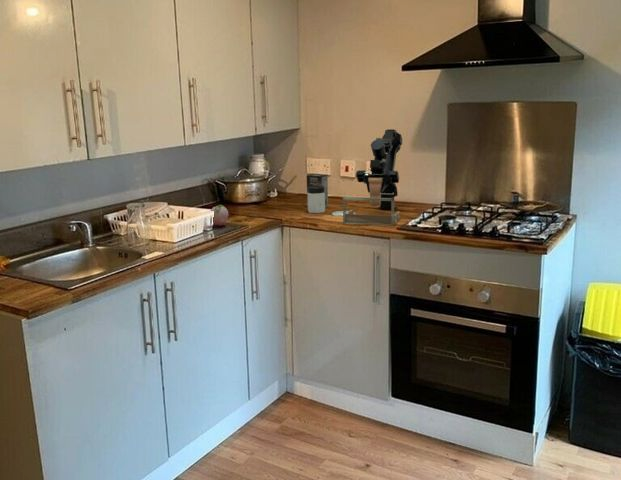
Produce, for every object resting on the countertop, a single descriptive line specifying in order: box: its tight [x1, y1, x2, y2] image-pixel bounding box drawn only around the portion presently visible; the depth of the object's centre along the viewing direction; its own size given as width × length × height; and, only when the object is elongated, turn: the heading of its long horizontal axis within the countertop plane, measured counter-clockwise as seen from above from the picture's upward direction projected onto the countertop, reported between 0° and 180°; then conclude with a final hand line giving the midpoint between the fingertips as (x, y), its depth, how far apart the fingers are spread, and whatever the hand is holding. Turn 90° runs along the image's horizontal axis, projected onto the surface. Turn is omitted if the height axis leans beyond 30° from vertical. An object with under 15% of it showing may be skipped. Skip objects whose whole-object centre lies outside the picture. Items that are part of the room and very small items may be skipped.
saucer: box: [331, 210, 356, 217], centre depth 297 cm, size 11×11×1 cm
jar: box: [306, 186, 326, 214], centre depth 305 cm, size 9×8×12 cm
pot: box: [368, 177, 382, 207], centre depth 282 cm, size 6×6×12 cm
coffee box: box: [306, 173, 329, 208], centre depth 318 cm, size 9×6×16 cm
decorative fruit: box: [210, 204, 229, 227], centre depth 278 cm, size 9×8×10 cm
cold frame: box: [342, 196, 401, 227], centre depth 277 cm, size 16×22×12 cm
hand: (374, 192), depth 281 cm, fingers closed on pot, 5 cm apart
